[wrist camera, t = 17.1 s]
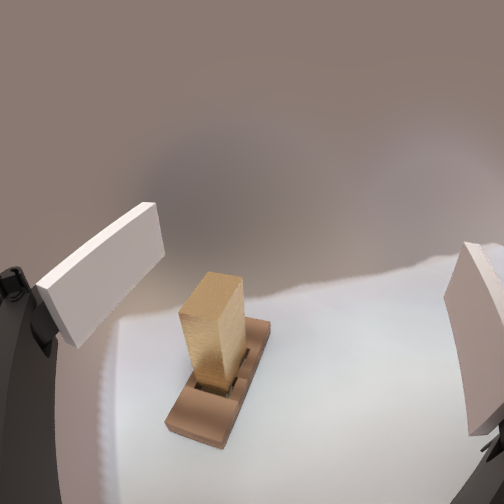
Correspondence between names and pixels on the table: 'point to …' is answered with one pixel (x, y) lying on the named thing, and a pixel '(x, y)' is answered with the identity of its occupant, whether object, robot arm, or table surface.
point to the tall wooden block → (215, 331)
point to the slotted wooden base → (215, 407)
